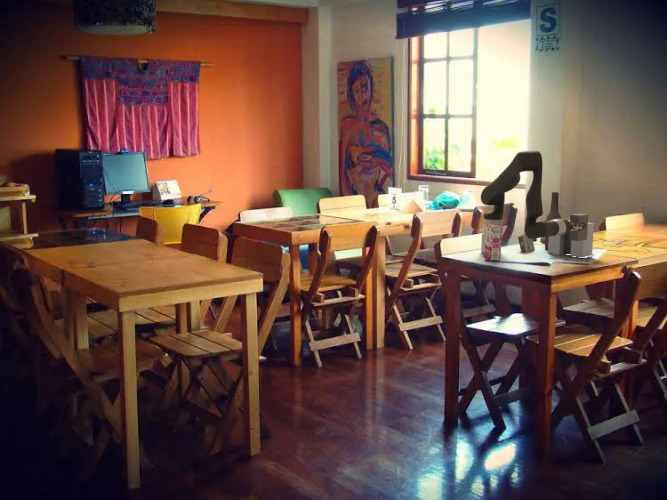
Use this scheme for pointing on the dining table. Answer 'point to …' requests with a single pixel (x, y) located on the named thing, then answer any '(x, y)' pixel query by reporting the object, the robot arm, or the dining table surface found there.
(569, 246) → the socket
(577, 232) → the plug
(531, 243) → the electrical switch
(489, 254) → the candy bar box
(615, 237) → the dining table surface
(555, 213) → the beer bottle
